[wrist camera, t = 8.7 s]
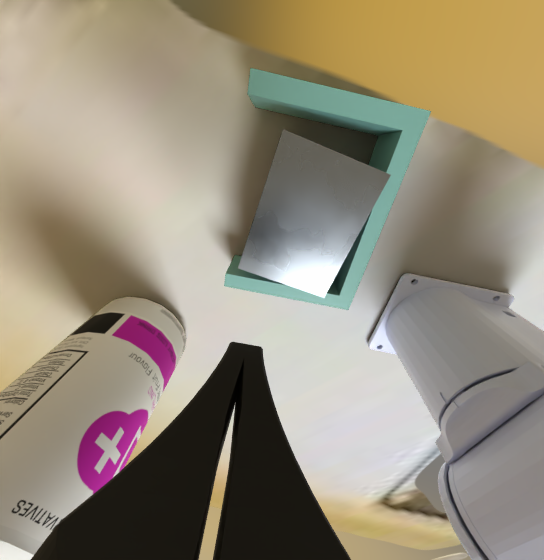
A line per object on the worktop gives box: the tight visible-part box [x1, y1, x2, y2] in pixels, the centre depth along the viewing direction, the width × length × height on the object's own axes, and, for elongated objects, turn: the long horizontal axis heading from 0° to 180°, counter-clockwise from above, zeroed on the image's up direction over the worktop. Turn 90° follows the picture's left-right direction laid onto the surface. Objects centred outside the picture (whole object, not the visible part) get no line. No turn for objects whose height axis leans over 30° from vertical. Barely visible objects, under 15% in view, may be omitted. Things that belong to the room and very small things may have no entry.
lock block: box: [238, 129, 391, 298], centre depth 16 cm, size 6×8×4 cm
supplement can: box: [0, 297, 186, 560], centre depth 17 cm, size 8×8×15 cm
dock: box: [224, 68, 431, 310], centre depth 16 cm, size 9×12×4 cm
